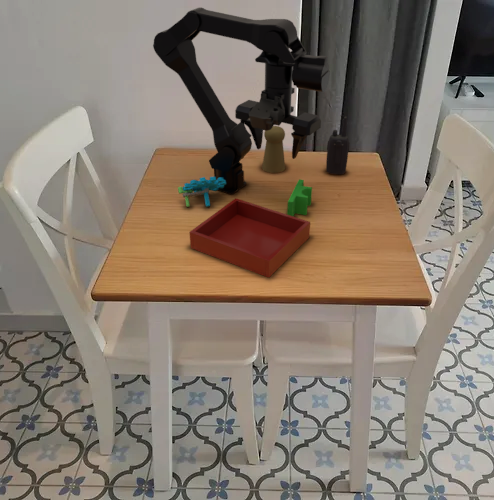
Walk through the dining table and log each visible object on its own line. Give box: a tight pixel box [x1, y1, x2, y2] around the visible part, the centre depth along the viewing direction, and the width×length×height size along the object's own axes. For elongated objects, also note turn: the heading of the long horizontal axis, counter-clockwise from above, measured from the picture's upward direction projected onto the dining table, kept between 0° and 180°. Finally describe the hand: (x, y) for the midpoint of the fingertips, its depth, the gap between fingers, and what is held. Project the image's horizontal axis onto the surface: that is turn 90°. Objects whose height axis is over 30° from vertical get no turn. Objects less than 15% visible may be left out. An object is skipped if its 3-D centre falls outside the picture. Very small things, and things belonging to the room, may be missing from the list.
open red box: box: [189, 197, 311, 278], centre depth 113 cm, size 19×17×4 cm
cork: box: [261, 125, 286, 174], centre depth 140 cm, size 6×6×11 cm
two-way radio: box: [325, 115, 350, 175], centre depth 137 cm, size 6×4×15 cm
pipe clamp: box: [286, 178, 313, 217], centre depth 125 cm, size 11×4×5 cm, turn 165°
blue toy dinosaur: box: [177, 175, 226, 208], centre depth 126 cm, size 11×6×10 cm
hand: (276, 153), depth 124 cm, fingers open, 9 cm apart
